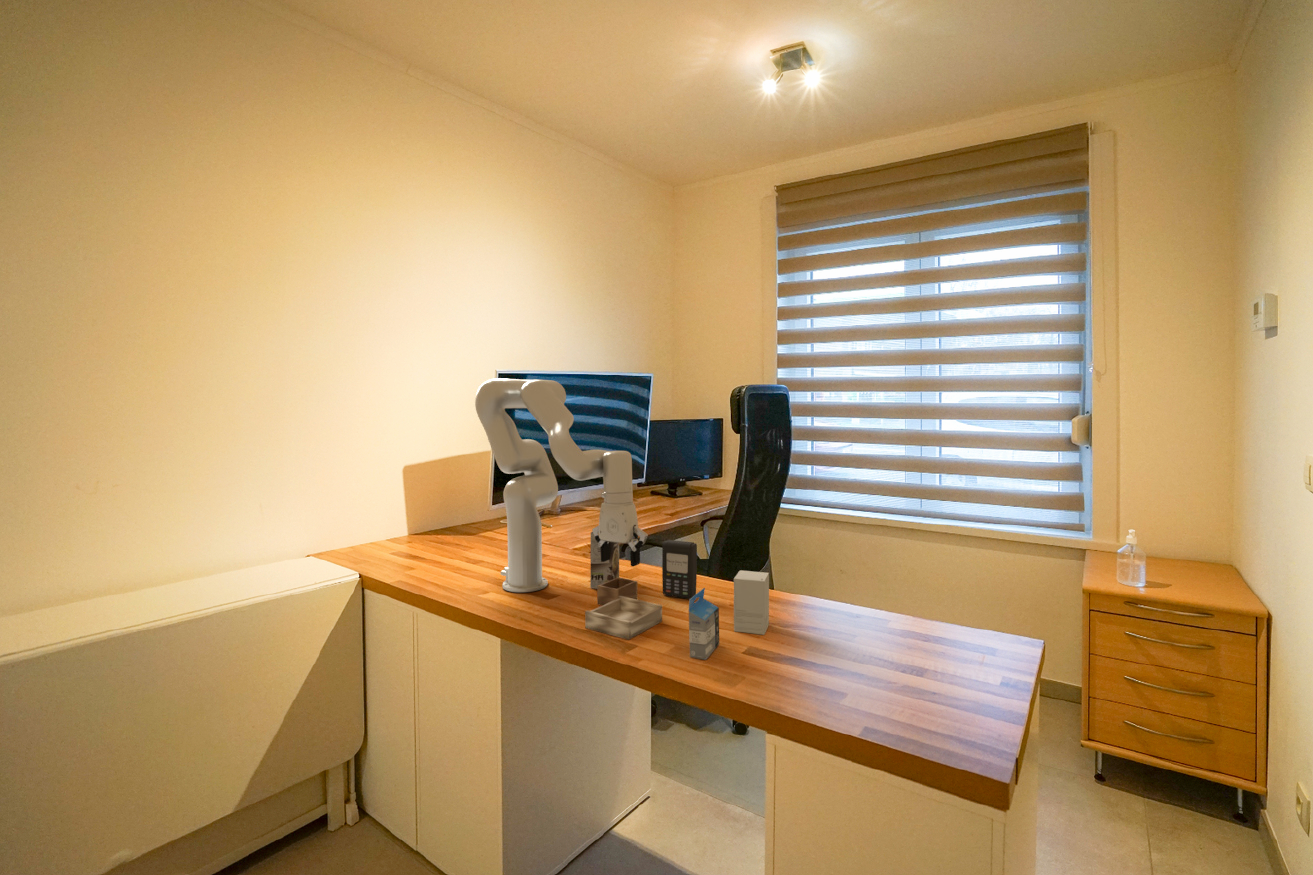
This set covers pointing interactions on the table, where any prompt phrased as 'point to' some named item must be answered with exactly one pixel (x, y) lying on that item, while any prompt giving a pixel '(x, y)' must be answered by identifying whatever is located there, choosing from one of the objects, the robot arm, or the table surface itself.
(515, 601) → the table surface
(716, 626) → the label tape box
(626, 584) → the small crate
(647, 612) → the tray
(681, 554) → the card reader
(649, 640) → the table surface
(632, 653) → the table surface
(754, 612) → the supplement box
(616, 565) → the coffee box
